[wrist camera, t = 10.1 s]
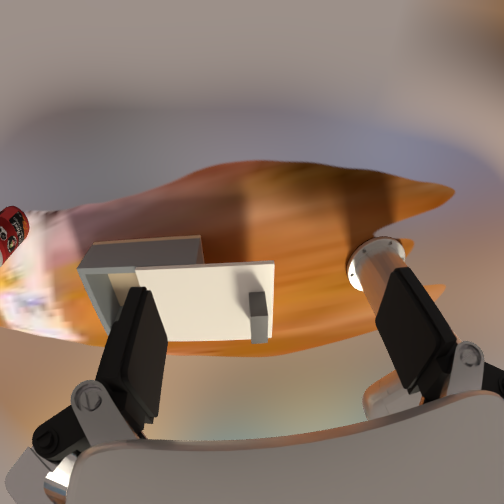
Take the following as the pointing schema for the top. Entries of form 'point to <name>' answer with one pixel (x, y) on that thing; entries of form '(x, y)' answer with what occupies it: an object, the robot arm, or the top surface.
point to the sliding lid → (213, 300)
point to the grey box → (130, 268)
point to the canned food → (11, 231)
